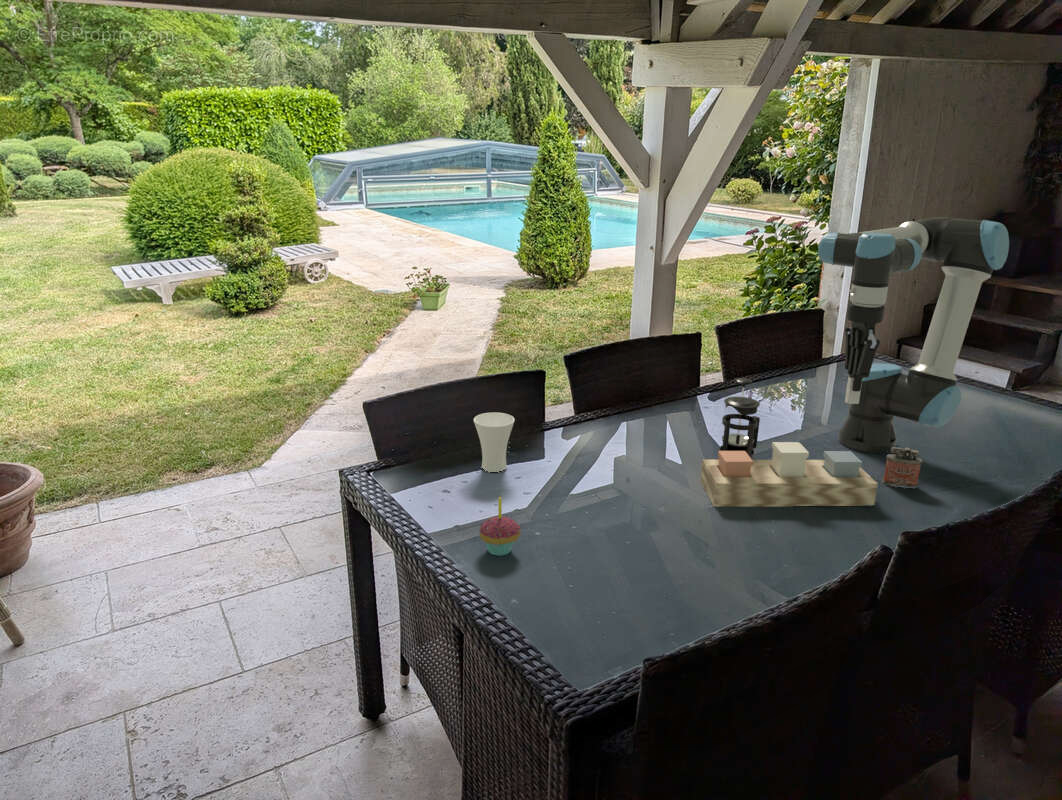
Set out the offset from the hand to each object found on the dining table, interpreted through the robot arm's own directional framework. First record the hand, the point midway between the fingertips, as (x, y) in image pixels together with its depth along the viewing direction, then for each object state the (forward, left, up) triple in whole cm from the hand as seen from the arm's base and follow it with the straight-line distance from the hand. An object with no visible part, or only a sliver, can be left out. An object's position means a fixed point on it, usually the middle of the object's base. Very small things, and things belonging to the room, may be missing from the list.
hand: (851, 402), depth 180 cm
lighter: (-18, -5, -24) cm, 30 cm away
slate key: (0, 0, -20) cm, 20 cm away
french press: (+19, -20, -24) cm, 36 cm away
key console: (+13, 0, -24) cm, 27 cm away
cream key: (+13, 0, -18) cm, 22 cm away
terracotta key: (+26, 0, -20) cm, 33 cm away
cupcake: (+82, +27, -24) cm, 90 cm away
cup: (+84, -15, -24) cm, 89 cm away
